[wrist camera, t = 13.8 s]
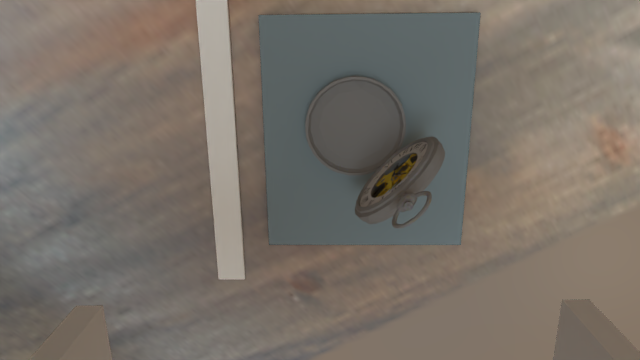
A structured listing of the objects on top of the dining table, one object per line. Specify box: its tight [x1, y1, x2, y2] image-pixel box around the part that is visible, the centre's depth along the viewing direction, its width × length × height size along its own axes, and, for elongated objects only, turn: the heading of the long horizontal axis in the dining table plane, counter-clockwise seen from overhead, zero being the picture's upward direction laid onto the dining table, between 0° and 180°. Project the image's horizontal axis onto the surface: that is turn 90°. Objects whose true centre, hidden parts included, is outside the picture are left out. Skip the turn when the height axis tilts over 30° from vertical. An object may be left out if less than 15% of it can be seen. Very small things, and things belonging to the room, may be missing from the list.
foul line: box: [196, 0, 245, 279], centre depth 34 cm, size 2×22×1 cm, turn 1°
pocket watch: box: [305, 76, 445, 229], centre depth 28 cm, size 8×8×10 cm
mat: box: [259, 13, 480, 245], centre depth 33 cm, size 14×16×1 cm
